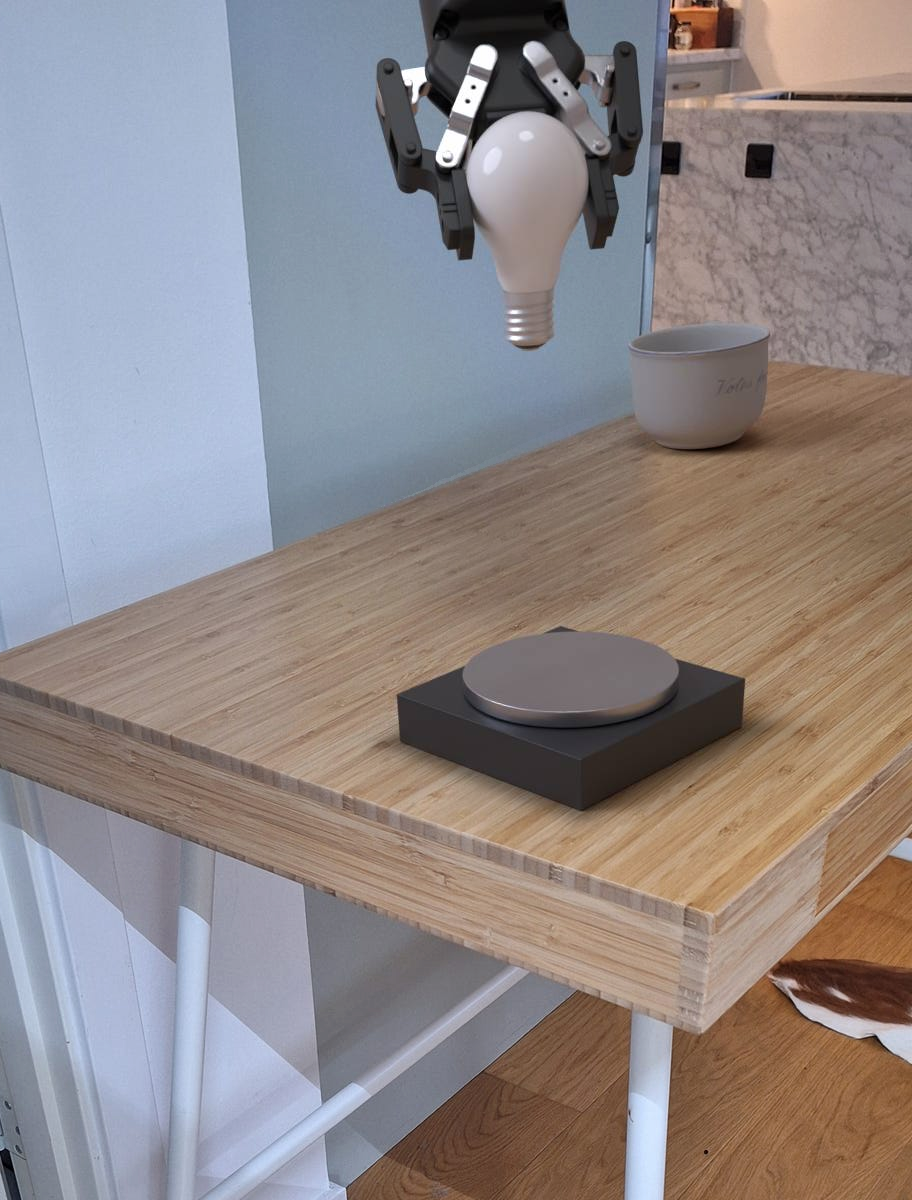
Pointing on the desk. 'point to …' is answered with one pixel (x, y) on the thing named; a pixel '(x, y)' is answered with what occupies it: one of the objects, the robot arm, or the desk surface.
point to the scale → (571, 736)
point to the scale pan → (570, 679)
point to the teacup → (699, 382)
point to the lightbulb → (527, 213)
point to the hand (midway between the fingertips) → (534, 242)
